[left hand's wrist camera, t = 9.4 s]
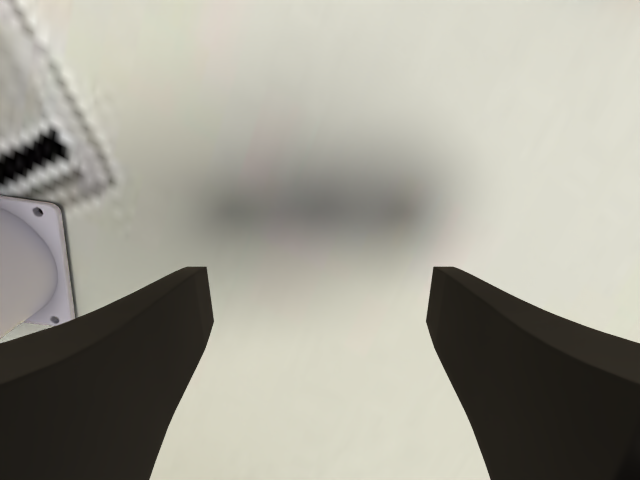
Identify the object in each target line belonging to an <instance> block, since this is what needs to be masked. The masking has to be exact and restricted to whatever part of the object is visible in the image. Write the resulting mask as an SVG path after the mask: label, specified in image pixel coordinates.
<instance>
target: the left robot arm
mask: <svg viewBox="0 0 640 480" xmlns="http://www.w3.org/2000/svg"><path fill="white" fill-rule="evenodd" d="M38 208H40V209H41V210H42V212H43V214H41V213H40V212H39V210H38ZM56 317H57V318H58V319H57V318H56ZM22 322H27V323H35V324H43V325H51V326H54V327H51V328H48V329H45V330H42V331H39V332H36V333H32V334H29V335H26V336H23V337H20V338H17V339H14V340H11V341H7V342H4V343H0V480H149V479H150V476H151V473H152V470H153V467H154V464H155V461H156V459H157V456H158V453H159V450H160V448H161V445H162V442H163V439H164V437H165V434H166V431H167V429H168V426H169V424H170V421H171V419H172V417H173V415H174V412H175V410H176V408H177V406H178V404H179V402H180V400H181V398H182V396H183V394H184V392H185V390H186V388H187V386H188V384H189V382H190V380H191V377H192V375H193V373H194V371H195V369H196V367H197V365H198V363H199V361H200V359H201V357H202V355H203V352H204V350H205V348H206V345H207V342H208V339H209V336H210V333H211V329H212V326H213V323H214V318H213V311H212V304H211V296H210V289H209V282H208V274H207V267H185V268H182V269H180V270H178V271H175V272H173V273H171V274H169V275H167V276H165V277H163V278H161V279H159V280H157V281H155V282H153V283H151V284H150V285H148V286H146V287H144V288H142V289H140V290H138V291H136V292H134V293H132V294H130V295H128V296H125V297H123V298H121V299H119V300H117V301H115V302H113V303H111V304H108V305H106V306H104V307H102V308H100V309H98V310H95V311H93V312H90V313H88V314H86V315H83V316H81V317H78V318H75V312H74V305H73V297H72V290H71V282H70V274H69V267H68V259H67V251H66V244H65V236H64V228H63V221H62V213H61V210H60V208H59V207H58V206H57V205H55V204H53V203H48V202H41V201H34V200H27V199H20V198H13V197H6V196H0V338H2V337H3V336H5V335H6V334H7V333H9V332H10V331H11V330H13V329H14V328H15V327H17V326H18V325H20V324H21V323H22ZM426 323H427V326H428V329H429V333H430V336H431V339H432V342H433V345H434V348H435V350H436V352H437V355H438V357H439V359H440V361H441V363H442V365H443V367H444V369H445V371H446V373H447V375H448V377H449V380H450V382H451V384H452V386H453V388H454V390H455V392H456V394H457V396H458V398H459V400H460V402H461V404H462V406H463V408H464V410H465V412H466V415H467V417H468V419H469V421H470V424H471V426H472V429H473V431H474V434H475V437H476V439H477V442H478V445H479V448H480V450H481V453H482V456H483V459H484V461H485V464H486V467H487V470H488V473H489V476H490V479H491V480H640V343H637V342H633V341H630V340H627V339H623V338H620V337H617V336H614V335H611V334H607V333H604V332H601V331H598V330H595V329H592V328H589V327H586V326H584V325H581V324H578V323H576V322H573V321H570V320H568V319H565V318H562V317H560V316H557V315H555V314H552V313H550V312H547V311H545V310H543V309H541V308H538V307H536V306H534V305H532V304H530V303H527V302H525V301H523V300H521V299H519V298H517V297H515V296H512V295H510V294H508V293H506V292H504V291H502V290H500V289H498V288H497V287H495V286H493V285H491V284H489V283H487V282H485V281H483V280H481V279H479V278H477V277H475V276H473V275H471V274H469V273H467V272H465V271H463V270H460V269H458V268H455V267H433V274H432V282H431V289H430V296H429V304H428V311H427V318H426Z"/></svg>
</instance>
